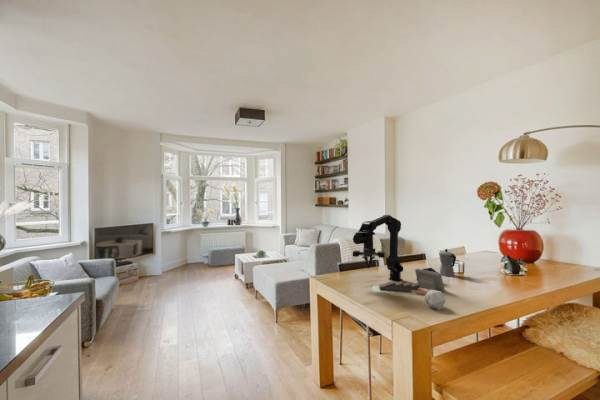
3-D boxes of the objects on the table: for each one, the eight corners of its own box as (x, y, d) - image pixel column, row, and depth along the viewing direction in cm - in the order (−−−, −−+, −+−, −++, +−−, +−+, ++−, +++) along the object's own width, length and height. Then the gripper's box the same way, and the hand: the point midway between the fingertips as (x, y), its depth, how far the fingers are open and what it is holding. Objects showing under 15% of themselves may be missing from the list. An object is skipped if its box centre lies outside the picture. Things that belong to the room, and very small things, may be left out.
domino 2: (388, 288, 163) (402, 283, 160) (388, 290, 158) (403, 286, 155) (387, 285, 163) (401, 281, 160) (386, 288, 158) (402, 283, 155)
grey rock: (423, 304, 139) (419, 292, 135) (437, 295, 140) (433, 282, 136) (435, 316, 132) (431, 303, 127) (450, 306, 132) (447, 293, 128)
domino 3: (395, 288, 161) (410, 284, 159) (395, 291, 156) (411, 287, 154) (394, 286, 161) (409, 281, 159) (394, 288, 157) (410, 284, 154)
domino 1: (380, 287, 164) (395, 283, 161) (380, 290, 159) (395, 285, 157) (379, 285, 164) (393, 280, 161) (379, 287, 159) (394, 283, 157)
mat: (415, 289, 160) (414, 289, 160) (416, 295, 151) (416, 294, 151) (372, 286, 168) (372, 285, 168) (371, 291, 158) (371, 290, 158)
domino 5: (411, 290, 158) (428, 291, 156) (411, 292, 154) (429, 294, 151) (411, 287, 158) (427, 288, 156) (411, 290, 154) (429, 291, 151)
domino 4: (403, 289, 160) (418, 285, 157) (403, 292, 155) (419, 287, 152) (402, 286, 160) (417, 282, 157) (402, 289, 155) (418, 285, 153)
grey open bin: (416, 278, 185) (414, 264, 184) (438, 278, 180) (436, 263, 180) (417, 286, 172) (416, 270, 172) (441, 286, 168) (439, 270, 167)
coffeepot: (434, 272, 195) (434, 247, 195) (446, 271, 197) (445, 247, 197) (449, 278, 180) (449, 251, 180) (462, 277, 182) (461, 251, 182)
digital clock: (446, 291, 157) (445, 272, 157) (435, 293, 153) (434, 274, 153) (423, 283, 171) (423, 266, 171) (412, 285, 168) (412, 268, 168)
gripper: (351, 244, 161) (351, 270, 161) (384, 245, 156) (384, 272, 156) (353, 241, 172) (354, 266, 172) (384, 242, 166) (384, 267, 166)
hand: (368, 268), depth 166 cm, fingers closed
